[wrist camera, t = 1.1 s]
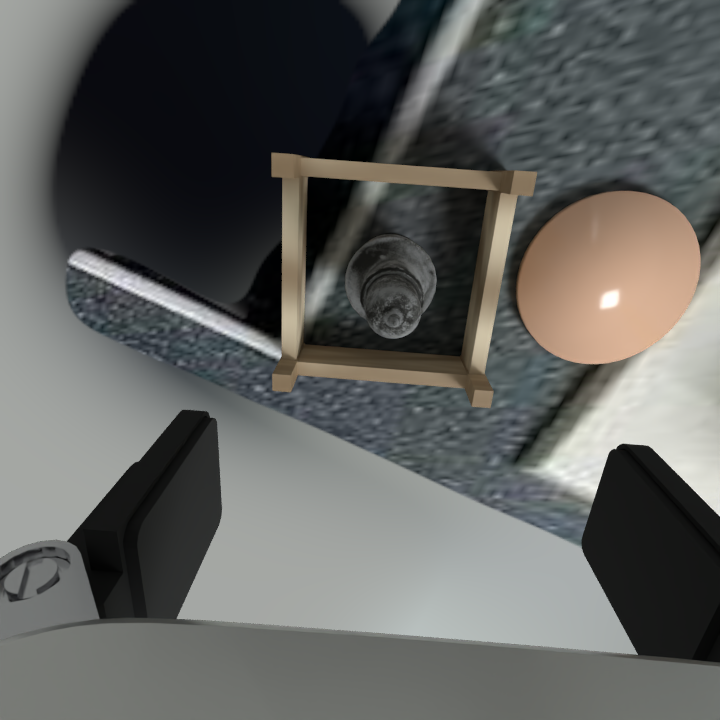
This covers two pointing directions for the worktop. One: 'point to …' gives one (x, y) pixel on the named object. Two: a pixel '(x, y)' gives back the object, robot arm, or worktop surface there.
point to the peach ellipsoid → (608, 276)
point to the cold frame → (379, 362)
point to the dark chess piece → (391, 284)
